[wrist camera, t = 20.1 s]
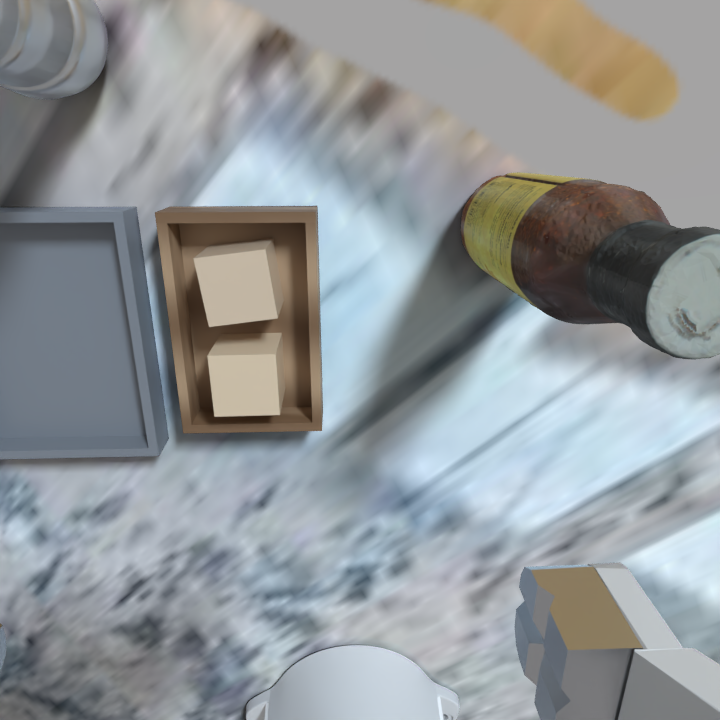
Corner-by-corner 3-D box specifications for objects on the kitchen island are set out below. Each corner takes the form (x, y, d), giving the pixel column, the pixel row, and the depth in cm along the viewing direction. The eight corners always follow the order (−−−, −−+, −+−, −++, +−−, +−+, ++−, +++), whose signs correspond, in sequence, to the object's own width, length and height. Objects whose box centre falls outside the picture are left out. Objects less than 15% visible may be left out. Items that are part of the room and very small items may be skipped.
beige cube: (272, 237, 35) (265, 249, 31) (283, 300, 36) (277, 318, 33) (208, 245, 35) (193, 258, 31) (222, 307, 36) (208, 327, 33)
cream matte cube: (281, 332, 37) (275, 354, 33) (285, 388, 38) (279, 415, 35) (220, 334, 37) (207, 355, 33) (226, 390, 38) (214, 416, 35)
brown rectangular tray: (322, 410, 40) (321, 430, 37) (194, 412, 40) (183, 433, 37) (317, 206, 35) (315, 211, 32) (169, 206, 34) (155, 212, 32)
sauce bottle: (469, 283, 37) (602, 425, 18) (446, 188, 35) (572, 241, 16) (567, 253, 36) (805, 367, 18) (550, 154, 34) (802, 170, 16)
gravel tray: (168, 438, 40) (159, 456, 38) (-4, 441, 40) (-24, 459, 38) (136, 207, 34) (122, 211, 32) (-66, 207, 34) (-95, 212, 32)
